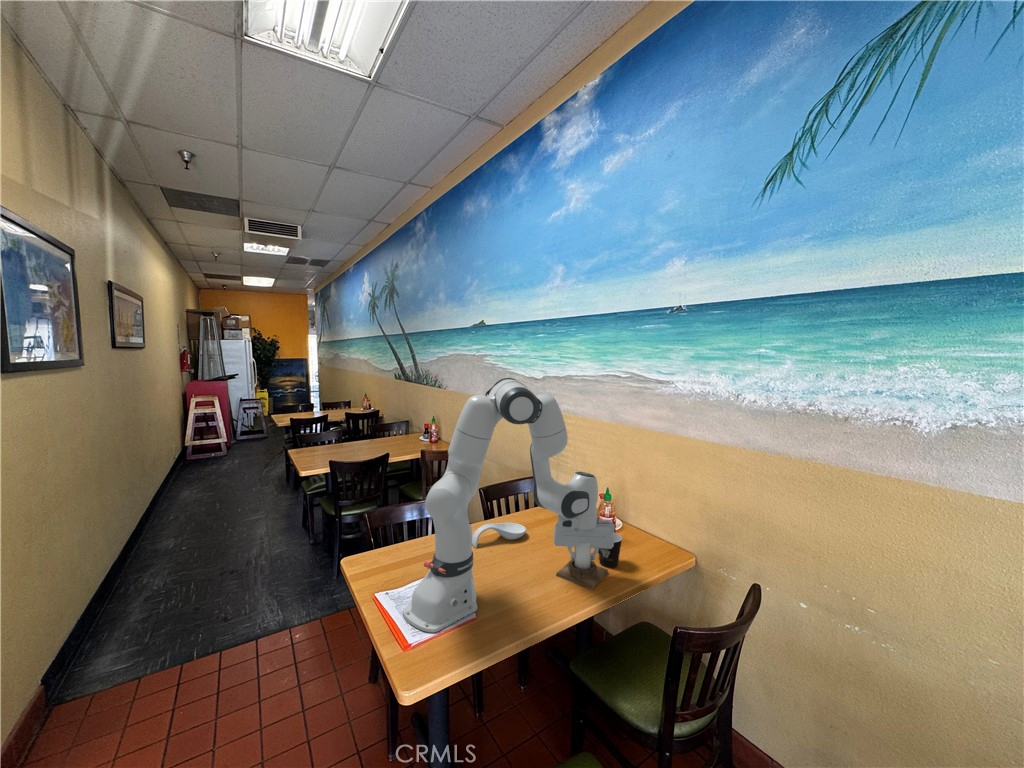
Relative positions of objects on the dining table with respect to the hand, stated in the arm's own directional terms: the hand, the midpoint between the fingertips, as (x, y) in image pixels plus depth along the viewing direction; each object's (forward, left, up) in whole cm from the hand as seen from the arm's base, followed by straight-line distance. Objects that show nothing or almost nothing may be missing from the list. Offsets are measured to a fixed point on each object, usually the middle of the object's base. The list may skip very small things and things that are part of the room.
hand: (582, 558), depth 132 cm
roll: (0, 0, -4) cm, 4 cm away
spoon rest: (+2, +38, -6) cm, 39 cm away
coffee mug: (+13, -3, -6) cm, 15 cm away
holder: (0, 0, -6) cm, 6 cm away
